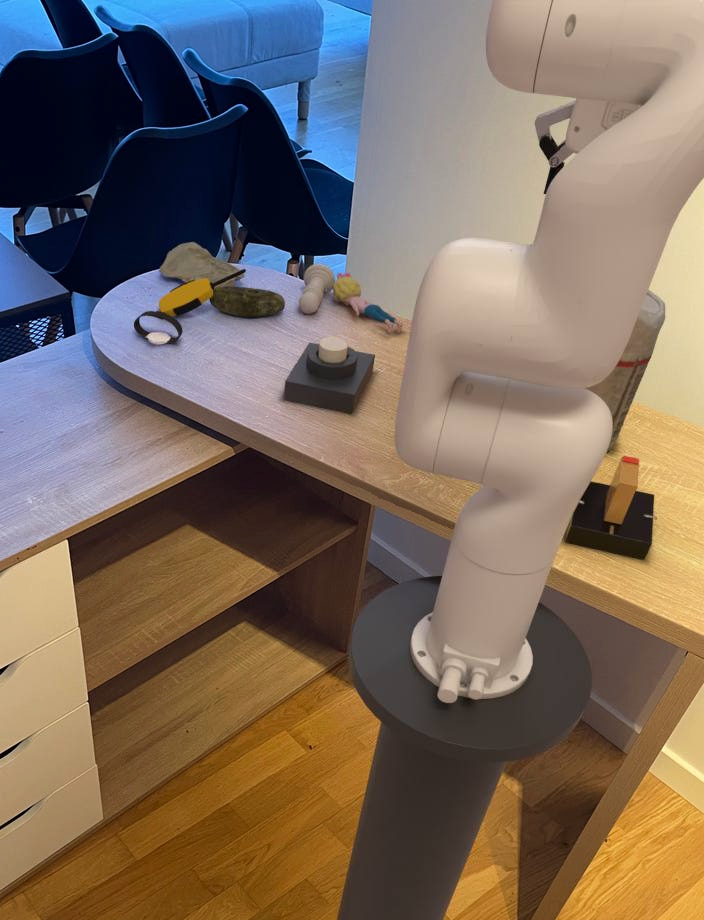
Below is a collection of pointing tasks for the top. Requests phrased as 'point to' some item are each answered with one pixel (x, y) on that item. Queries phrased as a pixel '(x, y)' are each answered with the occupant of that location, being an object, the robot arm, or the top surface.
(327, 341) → the white push button
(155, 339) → the watch
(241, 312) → the decorative stone
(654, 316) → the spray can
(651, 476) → the top surface
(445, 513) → the top surface
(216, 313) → the top surface
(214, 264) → the stone
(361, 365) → the dark grey button base
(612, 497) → the knob
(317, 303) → the chess piece
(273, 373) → the top surface
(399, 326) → the figurine
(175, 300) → the walkie talkie
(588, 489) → the panel
